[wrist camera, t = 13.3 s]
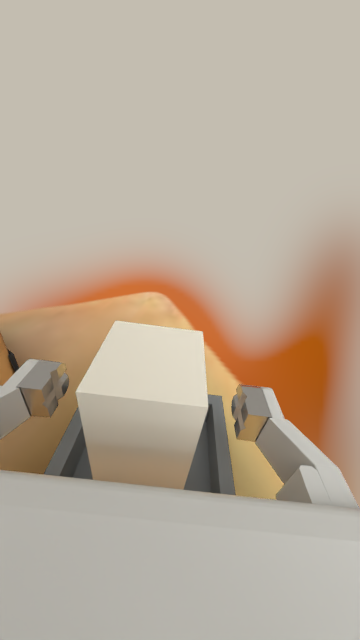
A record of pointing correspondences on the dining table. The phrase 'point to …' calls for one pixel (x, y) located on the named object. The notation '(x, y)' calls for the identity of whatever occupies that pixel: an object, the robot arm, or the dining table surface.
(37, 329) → the dining table surface
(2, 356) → the ammunition clip
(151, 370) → the cream block
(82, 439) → the box
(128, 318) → the dining table surface
